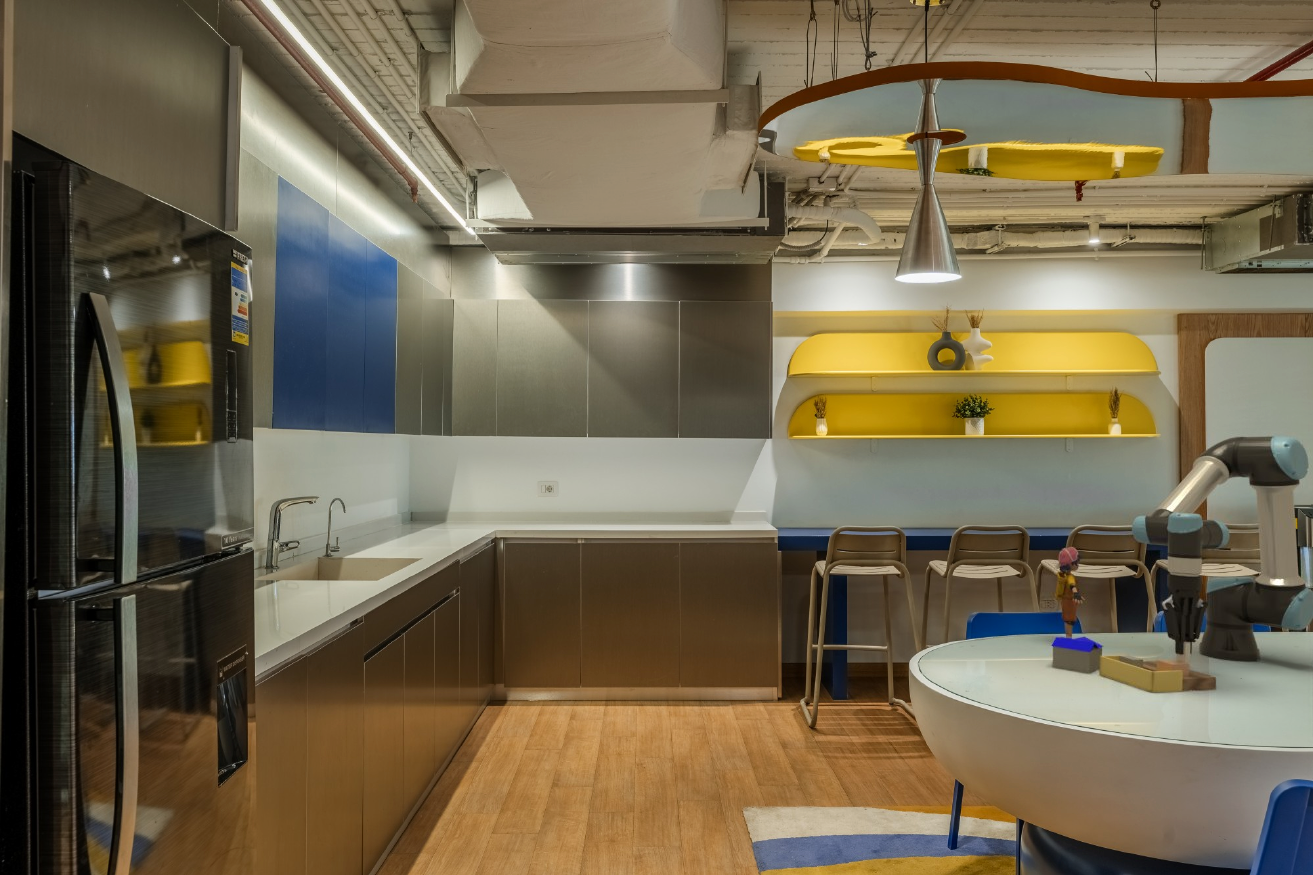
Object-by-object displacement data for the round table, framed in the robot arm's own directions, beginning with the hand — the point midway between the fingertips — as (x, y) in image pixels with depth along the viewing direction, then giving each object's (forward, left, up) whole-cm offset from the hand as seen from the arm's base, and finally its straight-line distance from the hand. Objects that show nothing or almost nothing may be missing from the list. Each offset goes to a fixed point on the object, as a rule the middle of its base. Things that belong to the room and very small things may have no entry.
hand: (1183, 667), depth 228 cm
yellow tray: (+9, -4, -5) cm, 11 cm away
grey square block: (+7, -8, -2) cm, 11 cm away
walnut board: (0, -4, -5) cm, 6 cm away
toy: (-5, -49, -5) cm, 50 cm away
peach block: (+3, 0, -2) cm, 4 cm away
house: (+14, -22, -5) cm, 26 cm away
